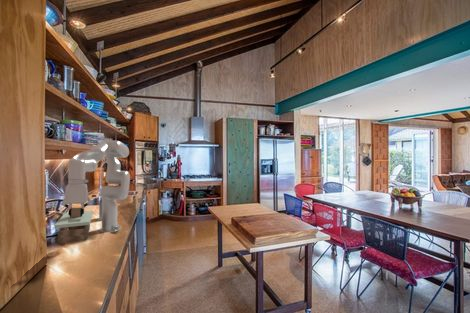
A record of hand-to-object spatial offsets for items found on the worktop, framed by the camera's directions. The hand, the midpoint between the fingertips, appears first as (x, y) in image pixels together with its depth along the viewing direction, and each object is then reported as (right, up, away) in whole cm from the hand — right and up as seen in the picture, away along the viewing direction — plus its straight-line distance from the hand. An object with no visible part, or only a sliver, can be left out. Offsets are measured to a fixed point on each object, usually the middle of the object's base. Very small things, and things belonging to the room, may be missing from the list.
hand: (76, 215), depth 125 cm
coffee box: (-23, -20, +67) cm, 74 cm away
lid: (0, -2, 0) cm, 2 cm away
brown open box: (-18, -20, +25) cm, 37 cm away
